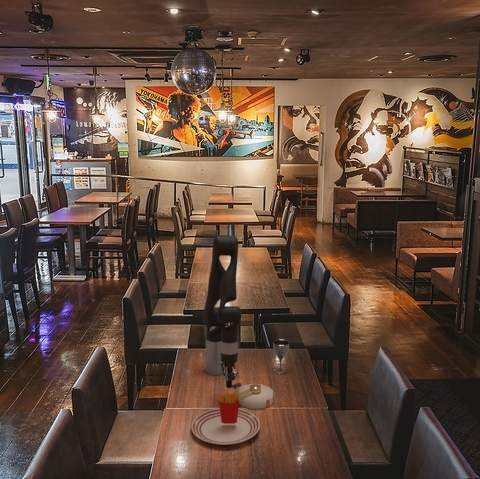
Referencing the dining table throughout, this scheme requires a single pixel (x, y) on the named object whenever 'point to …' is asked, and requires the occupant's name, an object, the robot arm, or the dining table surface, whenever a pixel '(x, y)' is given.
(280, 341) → the wine glass
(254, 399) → the crank housing
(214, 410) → the dinner plate
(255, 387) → the crank
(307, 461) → the dining table surface
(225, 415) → the french fries
